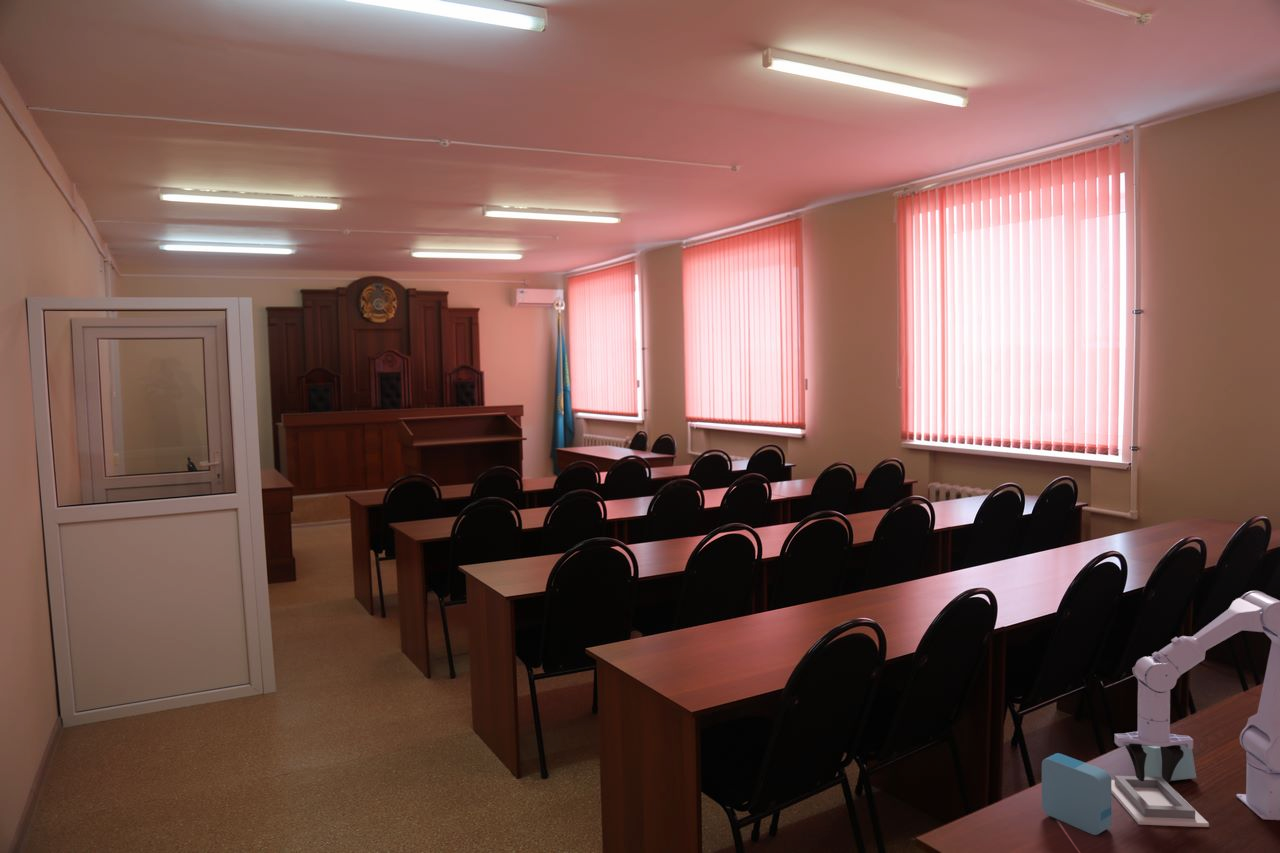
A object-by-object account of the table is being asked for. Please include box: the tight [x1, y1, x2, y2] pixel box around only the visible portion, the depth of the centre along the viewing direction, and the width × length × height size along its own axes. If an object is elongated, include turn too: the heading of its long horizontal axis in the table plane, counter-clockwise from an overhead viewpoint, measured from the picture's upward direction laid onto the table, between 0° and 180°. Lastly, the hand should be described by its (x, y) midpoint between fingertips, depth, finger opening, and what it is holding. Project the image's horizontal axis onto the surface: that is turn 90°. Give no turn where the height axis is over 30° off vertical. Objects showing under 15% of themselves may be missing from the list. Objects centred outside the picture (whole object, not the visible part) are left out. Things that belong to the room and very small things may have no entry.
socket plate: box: [1111, 775, 1210, 828], centre depth 174 cm, size 17×13×2 cm
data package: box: [1041, 752, 1112, 836], centre depth 168 cm, size 12×4×12 cm, turn 33°
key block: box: [1142, 746, 1197, 782], centre depth 185 cm, size 4×9×8 cm, turn 99°
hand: (1153, 779), depth 174 cm, fingers open, 4 cm apart
